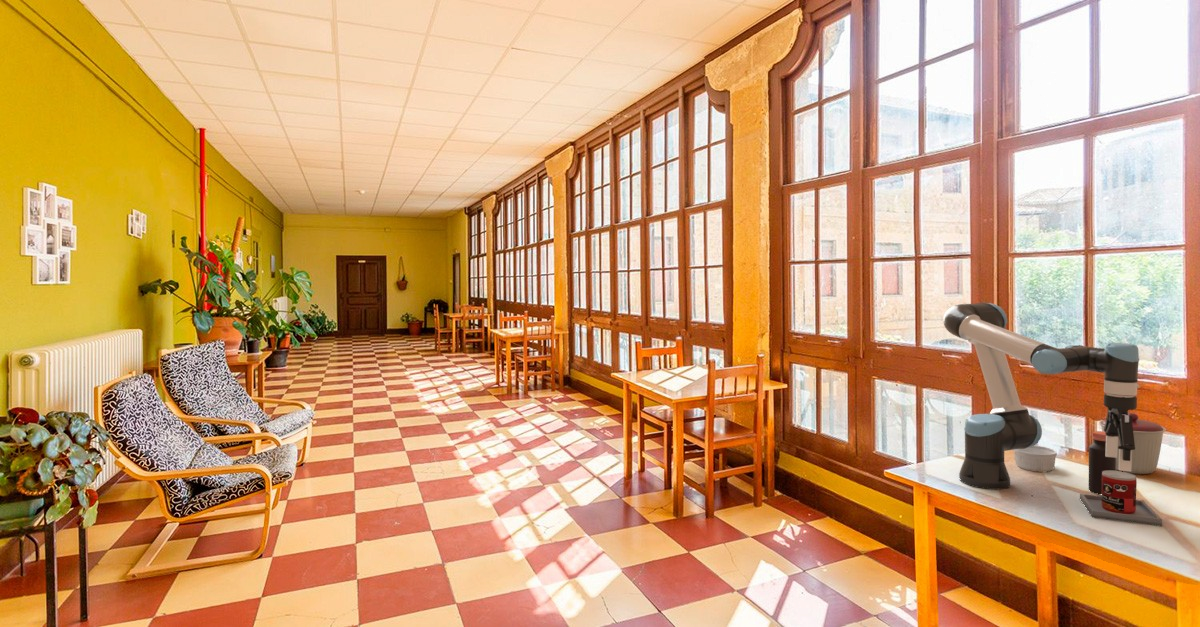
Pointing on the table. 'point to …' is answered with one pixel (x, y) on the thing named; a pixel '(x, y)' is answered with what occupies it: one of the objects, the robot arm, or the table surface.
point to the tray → (1140, 516)
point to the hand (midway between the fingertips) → (1117, 463)
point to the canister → (1143, 445)
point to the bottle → (1099, 461)
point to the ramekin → (1035, 458)
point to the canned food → (1118, 492)
